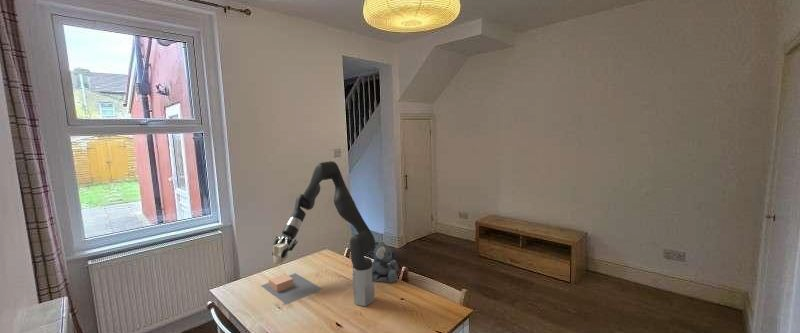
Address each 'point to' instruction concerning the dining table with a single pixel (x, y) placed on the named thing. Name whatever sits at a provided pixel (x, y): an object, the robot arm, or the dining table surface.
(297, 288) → the building mat
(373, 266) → the koala plush
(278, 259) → the cream block
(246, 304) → the dining table surface
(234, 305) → the dining table surface
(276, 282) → the terracotta brick
